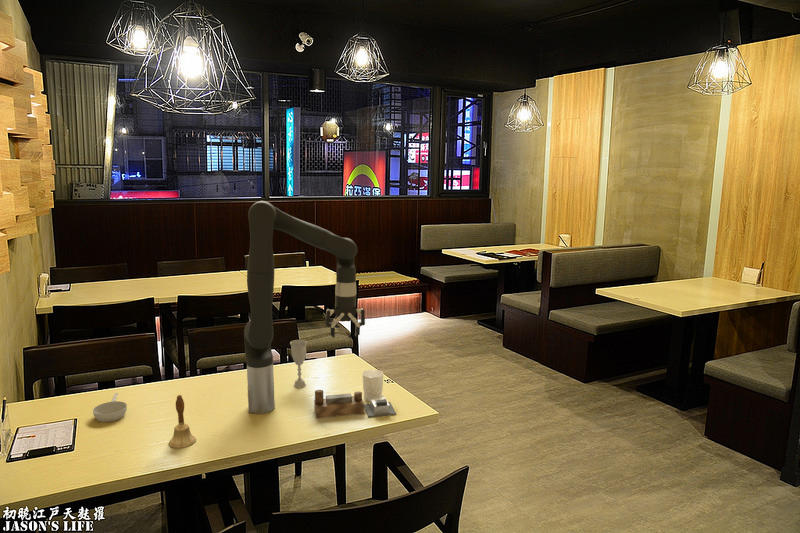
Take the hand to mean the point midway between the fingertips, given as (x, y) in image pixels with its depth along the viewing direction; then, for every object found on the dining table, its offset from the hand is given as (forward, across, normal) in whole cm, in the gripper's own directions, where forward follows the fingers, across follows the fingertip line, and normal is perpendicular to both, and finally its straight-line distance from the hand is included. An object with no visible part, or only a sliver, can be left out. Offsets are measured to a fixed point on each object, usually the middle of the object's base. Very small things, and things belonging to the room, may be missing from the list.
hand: (344, 336), depth 213 cm
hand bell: (+28, +54, +20) cm, 64 cm away
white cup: (+25, -11, -2) cm, 28 cm away
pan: (+28, +82, -8) cm, 87 cm away
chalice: (+26, +15, -20) cm, 36 cm away
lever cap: (+25, -12, +9) cm, 29 cm away
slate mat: (+25, -12, +10) cm, 29 cm away
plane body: (+26, +3, +8) cm, 27 cm away
